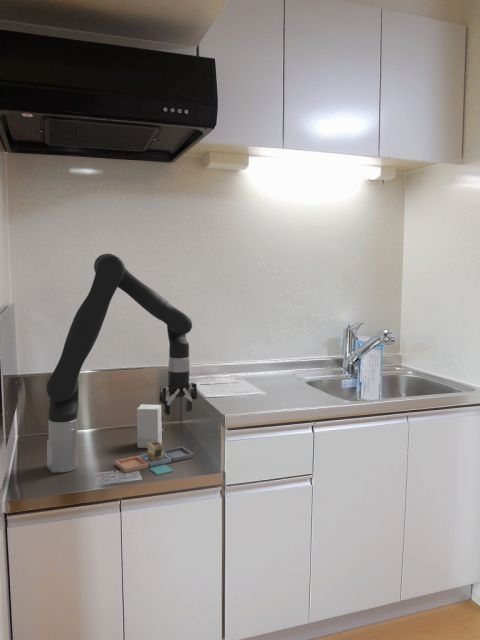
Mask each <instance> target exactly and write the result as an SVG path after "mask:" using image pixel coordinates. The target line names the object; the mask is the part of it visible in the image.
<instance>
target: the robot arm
mask: <svg viewBox="0 0 480 640" xmlns="http://www.w3.org/2000/svg"><path fill="white" fill-rule="evenodd" d="M93 270H94V278H93V281H92V285H91V287H90V290H89V292H88V294H87V296H86V297H85V299H84V300H83V302H82V303H81V304H80V306H79V308H78V310H77V311H76V313H75V314H74V317H73V320H72V322H71V324H70V327H69V330H68V332H67V335H66V338H65V342H64V345H63V348H62V352H61V355H60V358H59V360H58V362H57V365H56V366H55V368H54V370H53V372H52V374H51V376H50V377H49V379H48V381H47V382H46V386H45V387H46V394H47V396H48V397H49V409H48V411H47V413H48V440H46V466H47V469H48V470H49V471H50V472H51V473H52V474H56V473H60V474H61V473H67V472H71V471H74V470H76V469H77V468H78V467H79V466H78V461H79V459H78V455H79V454H78V410H79V375H80V372H81V369H82V366H83V365H84V363H85V361H86V359H87V358H88V356H89V354H90V352H91V351H92V349H93V347H94V345H95V343H96V341H97V339H98V337H99V334H100V332H101V329H102V326H103V324H104V321H105V318H106V316H107V313H108V309H109V306H110V303H111V301H112V298H113V296H114V295H115V292H116V291H117V289H118V288H119V289H120V290H122V291H123V292H124V293H125V294H127V295H128V296H129V297H130V298H131V299H133V300H134V301H135V302H136V303H137V304H139V306H141V308H143V309H144V310H145V311H146V312H147V313H148V314H150V315H151V316H153V317H154V318H156V319H158V320H159V321H161V322H163V323H164V324H166V330H167V338H168V342H169V350H168V353H169V354H168V356H169V357H168V365H167V369H168V370H167V373H168V374H167V380H168V381H167V382H168V385H167V386H162V385H161V386H159V396H158V398H159V399H158V400H159V402H158V403H160V404H161V405H164V406H163V409H164V410H163V411H164V414H165V415H166V416H170V415H171V403H172V402H173V401H174V400H175V398H176V399H177V398H180V397H181V398H183V397H184V398H185V400H186V401H185V411H186V412H188V413H189V412H191V411H192V409H193V401H194V400H197V399H198V386H197V383H195V382H190V344H189V341H188V340H187V337H186V336H187V334H189V333H190V332H191V331H192V328H193V322H192V319H191V318H190V316H188V315H187V314H186V313H184V312H183V311H182V310H180V309H178V308H176V307H175V306H173V305H172V304H171V303H170V302H169V301H168V300H166V298H164V297H163V296H161V295H160V294H159V293H158V292H156V290H154V289H153V288H150V287H149V286H148V285H146V284H145V283H143V282H142V281H141V280H139V279H138V278H137V277H136V276H134V275H133V274H132V273H131V272H130V271H129V270H128V269H127V268H126V267H125V263H124V262H123V260H122V259H121V258H120V257H118V256H117V255H115V254H112V253H103V254H100V255H99V256H98V257H97V258H95V260H94V264H93ZM189 382H190V383H189ZM189 389H190V393H189Z"/></svg>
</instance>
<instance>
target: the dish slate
mask: <svg viewBox="0 0 480 640" xmlns="http://www.w3.org/2000/svg"><path fill="white" fill-rule="evenodd" d="M138 456H139V457H140V458H142V459H143V460H144V461H146V462H147V463H148V464H149V466H148V468H152V467H157V466H161V465H167V464H172V463H173V462H172V458H170V457H169V456H167V455H166V454H164V453H163V460H160V461H156V462H151V461H149V460H148V453H145V454H140V455H138Z"/></svg>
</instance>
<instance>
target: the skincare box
mask: <svg viewBox="0 0 480 640" xmlns="http://www.w3.org/2000/svg"><path fill="white" fill-rule="evenodd" d="M136 423H137V424H136V425H137V428H136V429H137V432H136V434H137V435H136V438H137V448H139V449H148V443H151V442H156V441H159V442H160V443H162V444H163V438H162V437H163V435H162V434H163V433H162V432H163V428H162V426H163V425H162V404H146V403H145V404H143V403H141V404H139V407H137V408H136Z"/></svg>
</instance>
